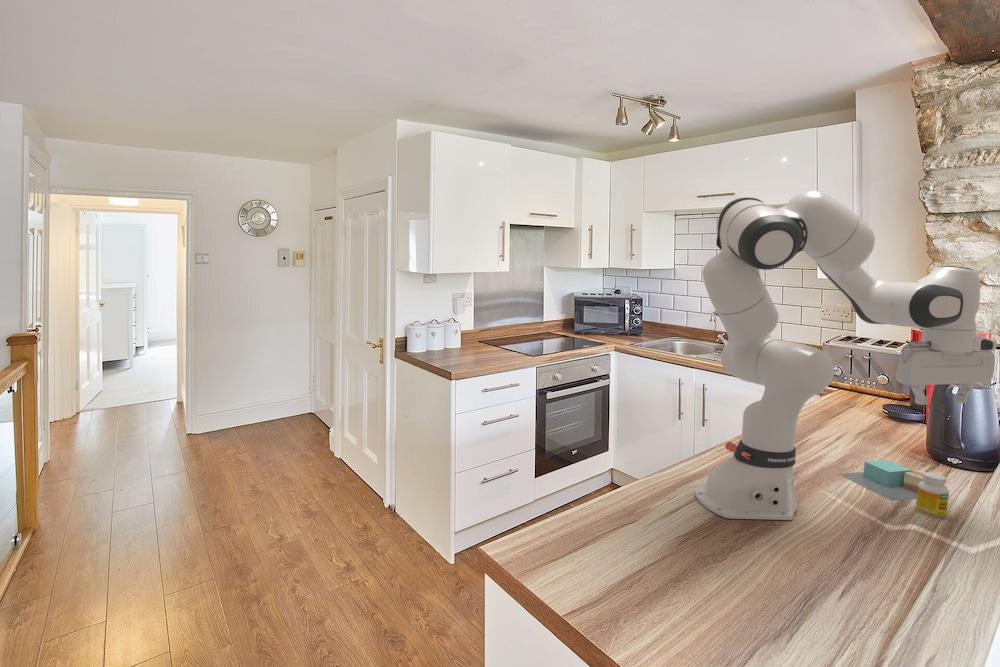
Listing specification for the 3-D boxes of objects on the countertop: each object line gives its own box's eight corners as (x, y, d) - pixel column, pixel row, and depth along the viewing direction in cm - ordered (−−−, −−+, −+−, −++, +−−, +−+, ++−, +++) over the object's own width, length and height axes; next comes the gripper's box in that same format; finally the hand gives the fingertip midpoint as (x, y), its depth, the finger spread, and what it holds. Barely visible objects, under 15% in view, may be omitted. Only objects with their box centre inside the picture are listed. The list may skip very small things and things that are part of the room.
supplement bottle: (920, 508, 121) (924, 469, 120) (949, 517, 117) (954, 477, 116) (910, 514, 118) (915, 474, 117) (940, 524, 114) (945, 482, 113)
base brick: (887, 487, 130) (888, 472, 130) (863, 476, 137) (864, 461, 136) (910, 485, 131) (912, 470, 131) (885, 474, 138) (887, 460, 138)
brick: (925, 496, 125) (927, 480, 125) (902, 488, 130) (904, 472, 129) (938, 492, 127) (940, 477, 126) (915, 485, 132) (917, 469, 131)
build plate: (890, 505, 123) (891, 500, 123) (837, 478, 139) (837, 473, 138) (948, 500, 125) (949, 496, 125) (889, 474, 141) (890, 470, 141)
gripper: (916, 344, 109) (909, 408, 111) (1004, 342, 111) (996, 405, 113) (890, 340, 115) (885, 401, 117) (974, 338, 117) (967, 398, 119)
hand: (940, 403), depth 115 cm, fingers open, 8 cm apart
